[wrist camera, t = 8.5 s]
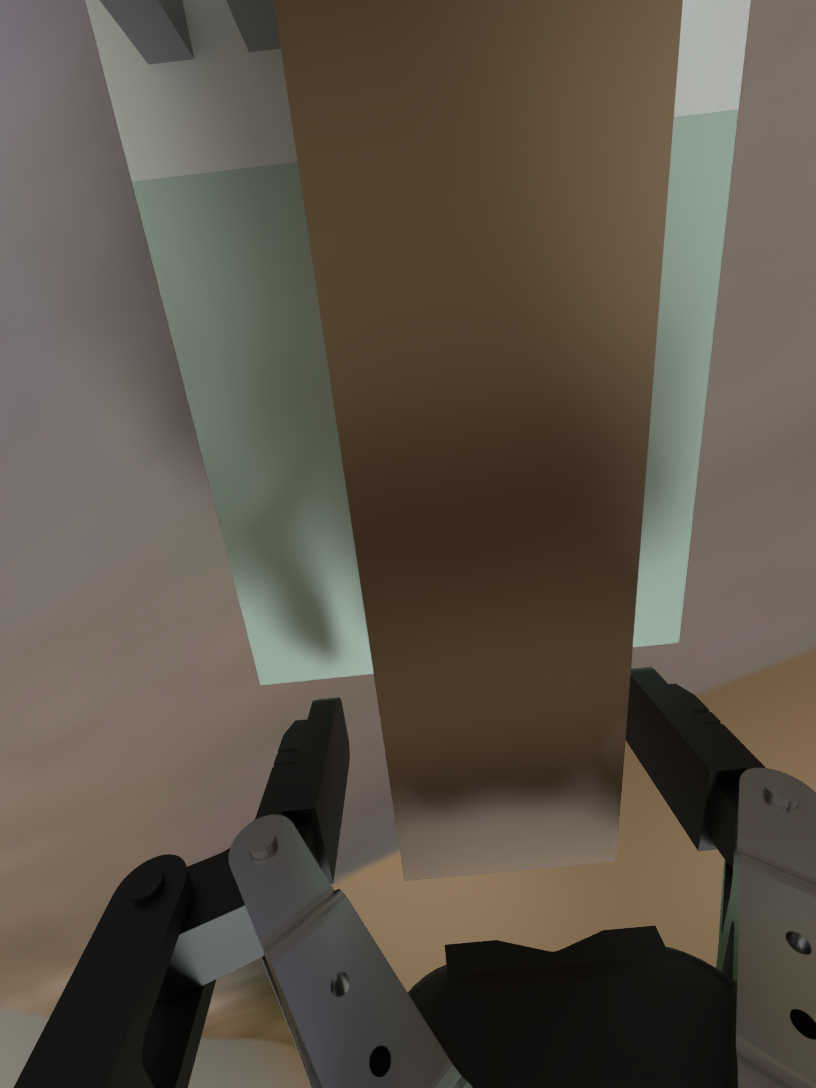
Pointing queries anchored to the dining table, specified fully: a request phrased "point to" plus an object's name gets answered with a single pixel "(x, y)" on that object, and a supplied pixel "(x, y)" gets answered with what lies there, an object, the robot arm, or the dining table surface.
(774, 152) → the dining table surface
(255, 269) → the tunnel deck
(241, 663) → the dining table surface
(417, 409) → the walnut bar
